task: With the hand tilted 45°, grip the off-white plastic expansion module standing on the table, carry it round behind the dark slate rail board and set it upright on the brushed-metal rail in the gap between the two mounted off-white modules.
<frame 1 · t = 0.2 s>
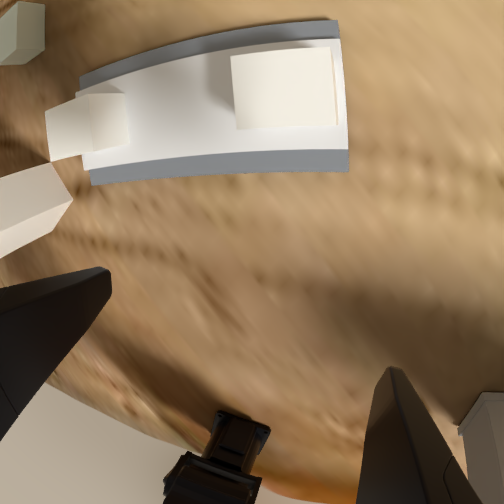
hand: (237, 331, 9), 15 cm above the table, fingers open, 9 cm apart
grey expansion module: (50, 197, 29), on the table
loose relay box: (35, 34, 22), on the table
rail board: (194, 106, 21), on the table
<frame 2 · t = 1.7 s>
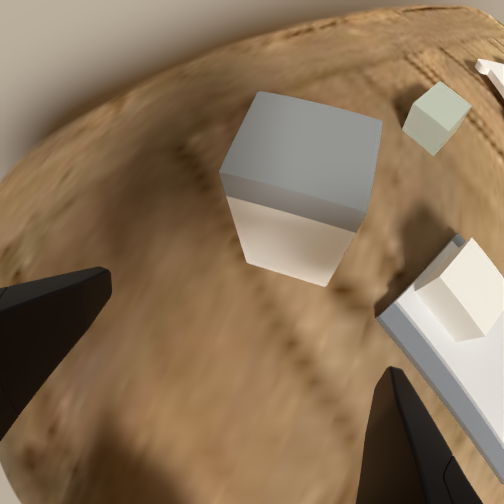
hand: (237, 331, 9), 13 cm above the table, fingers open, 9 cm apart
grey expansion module: (296, 243, 24), on the table
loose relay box: (430, 130, 27), on the table
rail board: (491, 369, 19), on the table
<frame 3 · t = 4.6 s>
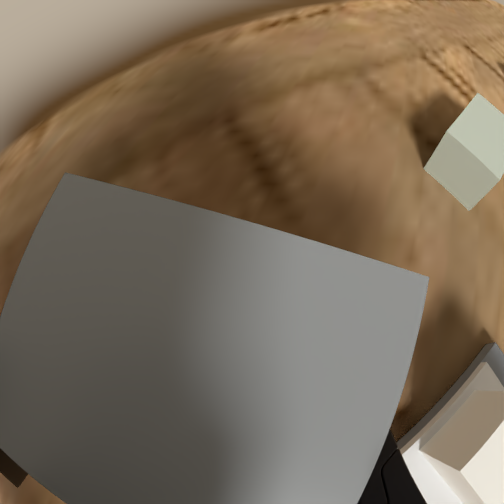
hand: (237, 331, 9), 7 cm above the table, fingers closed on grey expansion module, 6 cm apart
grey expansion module: (244, 371, 15), on the table, touching gripper
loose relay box: (463, 166, 18), on the table
when the fingers open (9 cm above the table, at t = 10.8 s): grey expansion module drops 1 cm, resting on rail board.
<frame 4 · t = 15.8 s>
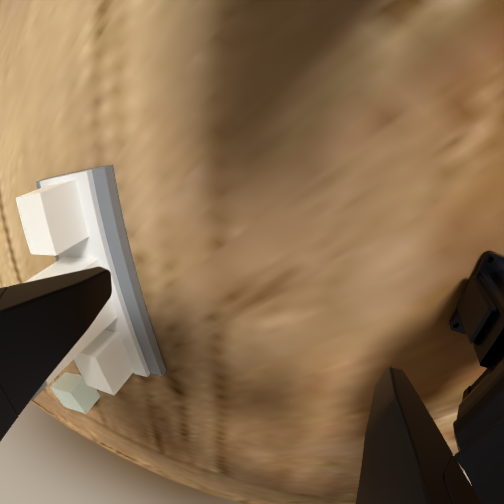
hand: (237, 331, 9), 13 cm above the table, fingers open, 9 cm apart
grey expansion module: (89, 286, 28), point 2 cm above the table, touching rail board
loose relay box: (82, 383, 41), on the table
rail board: (99, 278, 29), on the table
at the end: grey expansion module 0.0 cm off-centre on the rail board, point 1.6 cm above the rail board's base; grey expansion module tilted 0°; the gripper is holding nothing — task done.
